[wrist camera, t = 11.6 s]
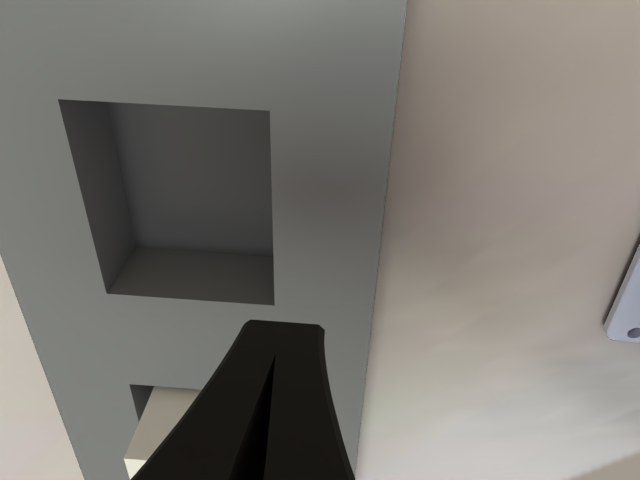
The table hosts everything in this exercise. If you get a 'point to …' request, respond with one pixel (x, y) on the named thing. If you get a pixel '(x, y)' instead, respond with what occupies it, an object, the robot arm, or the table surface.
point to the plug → (157, 423)
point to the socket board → (191, 191)
